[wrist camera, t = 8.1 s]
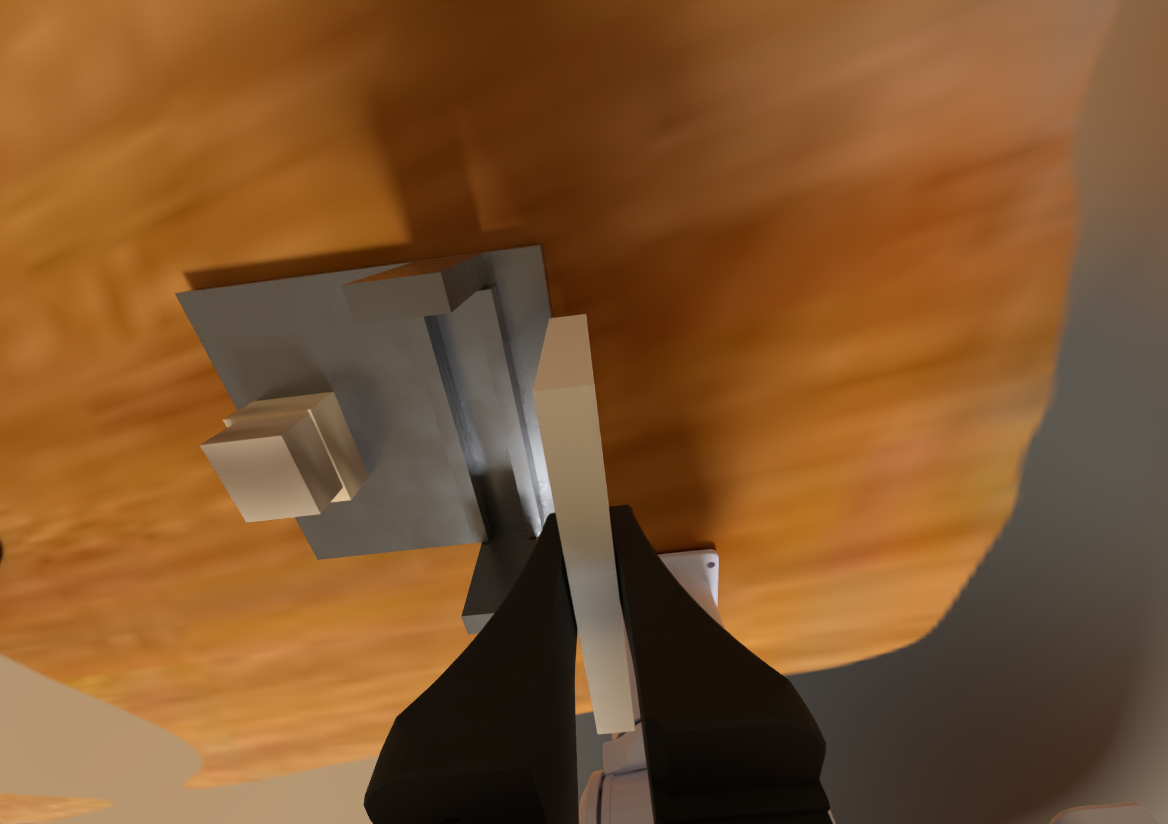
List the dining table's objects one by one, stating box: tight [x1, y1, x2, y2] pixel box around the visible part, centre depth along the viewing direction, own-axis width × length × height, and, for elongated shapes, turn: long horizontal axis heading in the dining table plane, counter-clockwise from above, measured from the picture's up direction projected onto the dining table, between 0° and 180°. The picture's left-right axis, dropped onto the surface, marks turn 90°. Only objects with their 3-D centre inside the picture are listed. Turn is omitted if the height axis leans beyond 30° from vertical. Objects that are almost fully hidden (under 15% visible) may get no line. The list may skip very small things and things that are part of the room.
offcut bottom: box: [223, 392, 369, 502], centre depth 21 cm, size 5×4×2 cm
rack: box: [175, 244, 555, 634], centre depth 19 cm, size 16×16×7 cm
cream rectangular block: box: [532, 314, 635, 734], centre depth 13 cm, size 12×1×6 cm, turn 7°
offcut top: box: [200, 414, 343, 522], centre depth 19 cm, size 4×3×2 cm
